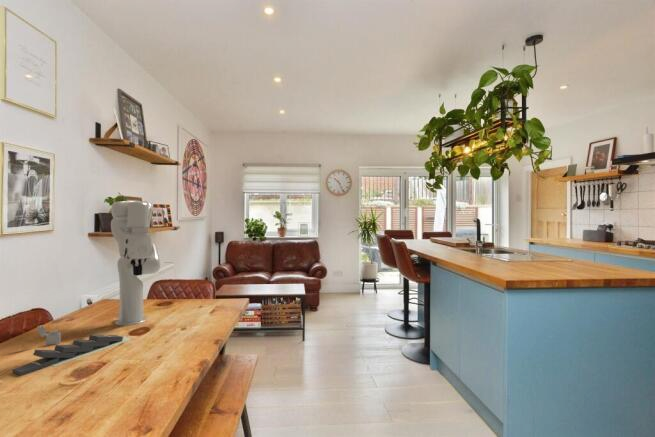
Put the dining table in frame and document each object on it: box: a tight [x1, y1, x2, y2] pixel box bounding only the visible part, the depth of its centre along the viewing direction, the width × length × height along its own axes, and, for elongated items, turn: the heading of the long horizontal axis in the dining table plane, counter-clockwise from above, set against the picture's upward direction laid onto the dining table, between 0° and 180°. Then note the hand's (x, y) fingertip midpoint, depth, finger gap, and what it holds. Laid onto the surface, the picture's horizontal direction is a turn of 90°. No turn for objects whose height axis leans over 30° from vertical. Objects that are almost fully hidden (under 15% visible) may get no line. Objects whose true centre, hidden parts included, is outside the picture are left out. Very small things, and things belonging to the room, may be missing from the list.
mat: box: [50, 336, 132, 367], centre depth 122 cm, size 10×27×1 cm, turn 156°
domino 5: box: [88, 334, 124, 341], centre depth 127 cm, size 2×5×10 cm
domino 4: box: [71, 339, 110, 347], centre depth 122 cm, size 2×5×10 cm
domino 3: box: [53, 344, 94, 353], centre depth 117 cm, size 2×5×10 cm
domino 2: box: [32, 349, 75, 359], centre depth 111 cm, size 2×5×10 cm
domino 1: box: [12, 357, 59, 377], centre depth 107 cm, size 2×5×10 cm
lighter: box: [36, 324, 62, 346], centre depth 127 cm, size 7×2×8 cm, turn 114°
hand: (137, 274), depth 139 cm, fingers closed
